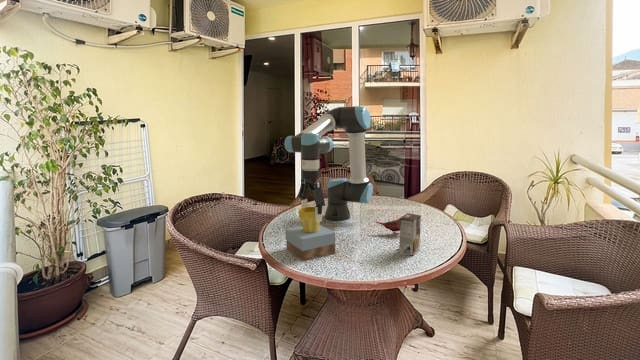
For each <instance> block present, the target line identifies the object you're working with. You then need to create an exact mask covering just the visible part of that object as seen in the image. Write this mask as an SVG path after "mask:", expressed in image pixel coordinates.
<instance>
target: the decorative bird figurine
mask: <svg viewBox="0 0 640 360" xmlns="http://www.w3.org/2000/svg"><path fill="white" fill-rule="evenodd" d="M403 216H404V215H403ZM403 216H401V217H403ZM401 217H399V218H398V219H394V220H388V221H386V222H380V221H375V223H376V224H379V225H381V226H383V227H384V228H385V229H387V230H390V231H391V234H392V235H400V218H401Z"/></svg>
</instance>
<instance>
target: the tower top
mask: <svg viewBox="0 0 640 360" xmlns="http://www.w3.org/2000/svg"><path fill="white" fill-rule="evenodd" d="M286 240H287V241H288V242H290V243H291V244H293V245H294V246H296V247H297V248H299V249H300V250H302V251H305V250H309V249H314V248H318V247H323V246H327V245H331V244H335V245H336V232H334V231H332V230H331V229H329V228H327V227H324V226H323V225H321V224H319V230H318V231H317V232H314V233H308V232H304V231H303V226H301V225H300V226H296V227H291V228H285V241H286ZM287 241H286V242H287Z"/></svg>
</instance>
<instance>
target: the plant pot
mask: <svg viewBox="0 0 640 360" xmlns="http://www.w3.org/2000/svg"><path fill="white" fill-rule="evenodd" d="M298 217H299V219H300V221H301V225H302V226H303V231H304V232H308V233H314V232H317V231H318V230H319V225H321V224H320V223H321V221H320V222H316V216H315V206H307V207H303V208H301V207H300V208H299V209H298Z"/></svg>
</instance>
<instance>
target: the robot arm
mask: <svg viewBox="0 0 640 360" xmlns="http://www.w3.org/2000/svg"><path fill="white" fill-rule="evenodd" d="M371 121H372V120H371V114H370V111H369V110H368V108H367V107H365V106H357V105H356V106H355V105H354V106H337V107H334V108H332V109H330V110H328V111H326V112H325V113H323V114H322V115H321V116H320V117H319V119H318V120H316V121H315V122H314V123H311V125H309V126H308V127H306V128H305V129H304V130H302V131H301V132H299V133H297V134H296V135H288V136H286V138H285V139H284V144H283V145H284V149H285V150H286V151H287V152H288V153H301V163H300V164H301V169H302V170H301V184H300V188H299V193H298V198H299V199H300V200H301V202H300V203H301V204H300V206H301V207H300V208H303V207H308V195H309V193H310V194H311V195H312V197H313V200H314V203H315V206H314V207H315V216H316V222H320V223H321V222H323V207H325V206H326V209H325V212H324V218H325V219H326V220H327V221H337V222H340V221H341V222H342V221H347V220H349V219H350V218H351V213H350V209H349V207H348V203H350V202H351V203H358V204H368V203H369V202H370V201H371V199H372V197H373V193H374V185H373V183H371V182H370V178H368V177H367V164H366V146H365V145H366V143H365V142H366V141H365V134H367V132H368V129H370V127H371V123H372V122H371ZM334 129H337V130H338V129H340V130H341V129H342V130H345V134H346V135H347V136H348V150H349V152H348V154H349V166H350V167H349V169H350V171H349V172H350V177H349V178H346V177H345V178H343V177H342V178H334V179H330V180H328V182H327V205H326V203H325V198H324V193H323V189H322V183H321V182H318V181H317V180H318V179H320V175H321V174H320V170H319V169H320V155H321V154H327V153H329V152H331V151H332V150H333V148H334V140H333V139H332V138H331V137H330V136H326V135H324V134H326V133H328V132H331V131H333V130H334Z"/></svg>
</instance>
